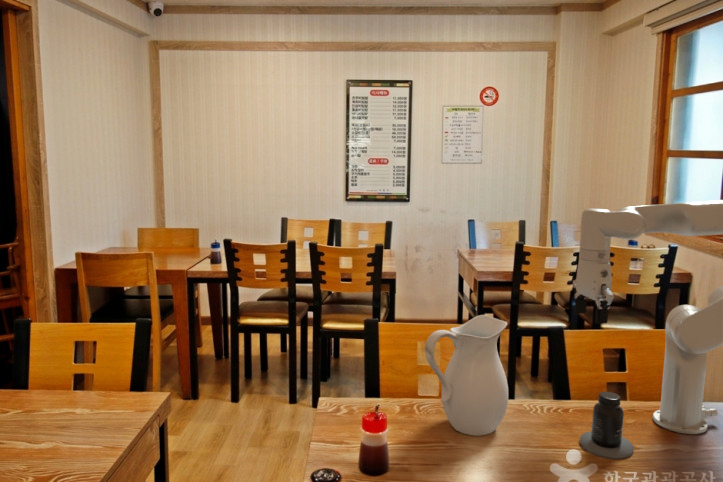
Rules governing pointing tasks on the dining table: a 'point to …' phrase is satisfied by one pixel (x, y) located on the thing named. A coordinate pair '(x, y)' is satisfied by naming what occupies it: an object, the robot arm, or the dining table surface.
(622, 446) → the coaster
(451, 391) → the pitcher
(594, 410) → the supplement bottle
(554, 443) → the dining table surface
